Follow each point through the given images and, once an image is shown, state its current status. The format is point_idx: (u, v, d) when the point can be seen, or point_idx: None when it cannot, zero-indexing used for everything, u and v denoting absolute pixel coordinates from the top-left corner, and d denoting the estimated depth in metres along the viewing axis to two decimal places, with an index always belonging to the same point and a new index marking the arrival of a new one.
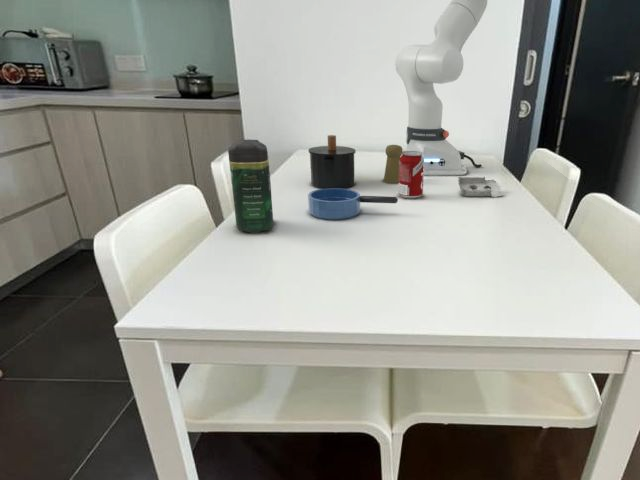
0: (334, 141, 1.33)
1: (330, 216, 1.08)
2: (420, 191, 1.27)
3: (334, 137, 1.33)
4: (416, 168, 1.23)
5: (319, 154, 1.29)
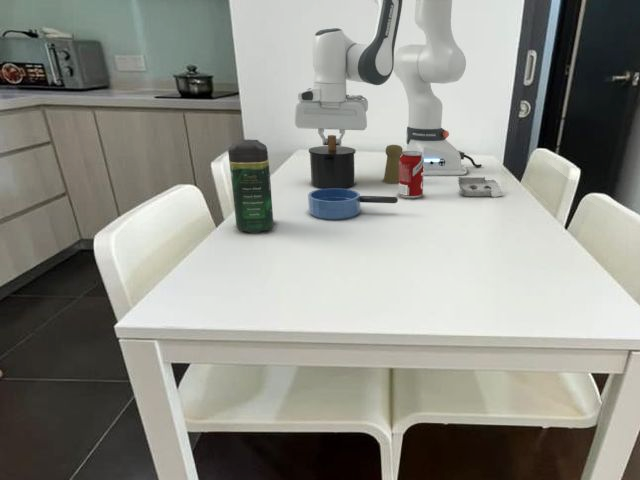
0: (334, 141, 1.33)
1: (330, 216, 1.08)
2: (420, 191, 1.27)
3: (334, 137, 1.33)
4: (416, 168, 1.23)
5: (319, 154, 1.29)
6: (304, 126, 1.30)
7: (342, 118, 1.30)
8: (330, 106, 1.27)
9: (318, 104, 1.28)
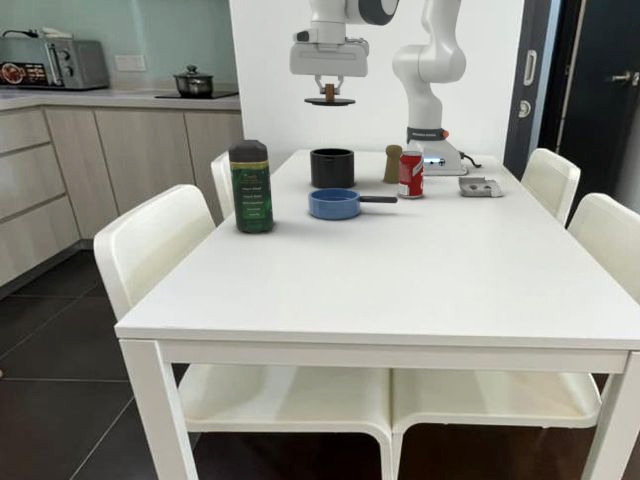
0: (332, 90, 1.22)
1: (330, 216, 1.08)
2: (420, 191, 1.27)
3: (332, 85, 1.22)
4: (416, 168, 1.23)
5: (315, 102, 1.18)
6: (299, 72, 1.19)
7: (341, 63, 1.19)
8: (328, 48, 1.16)
9: (315, 46, 1.17)
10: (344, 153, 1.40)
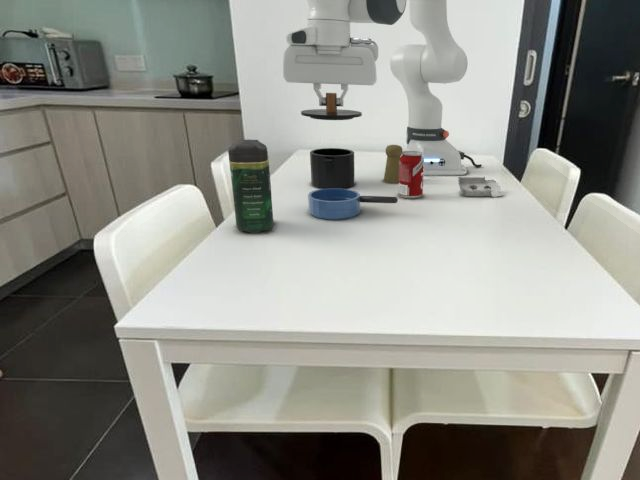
0: (334, 100, 1.03)
1: (330, 216, 1.08)
2: (420, 191, 1.27)
3: (334, 95, 1.02)
4: (416, 168, 1.23)
5: (315, 115, 0.99)
6: (295, 79, 1.00)
7: (345, 69, 0.99)
8: (329, 52, 0.97)
9: (313, 49, 0.97)
10: (344, 153, 1.40)
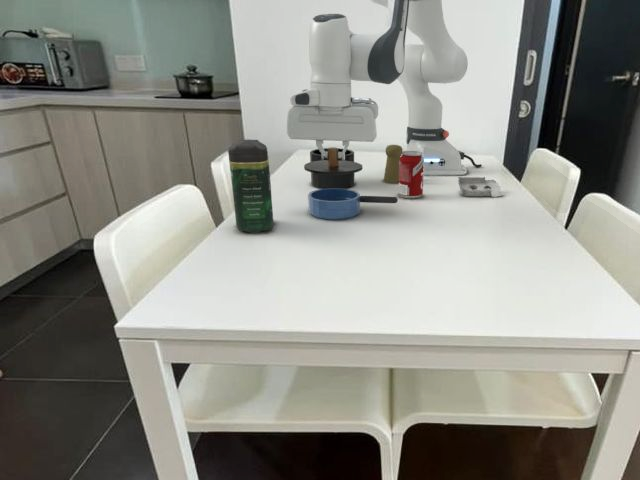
0: (336, 155, 1.07)
1: (330, 216, 1.08)
2: (420, 191, 1.27)
3: (336, 150, 1.07)
4: (416, 168, 1.23)
5: (317, 172, 1.03)
6: (298, 137, 1.05)
7: (346, 127, 1.04)
8: (331, 112, 1.01)
9: (316, 109, 1.02)
10: None
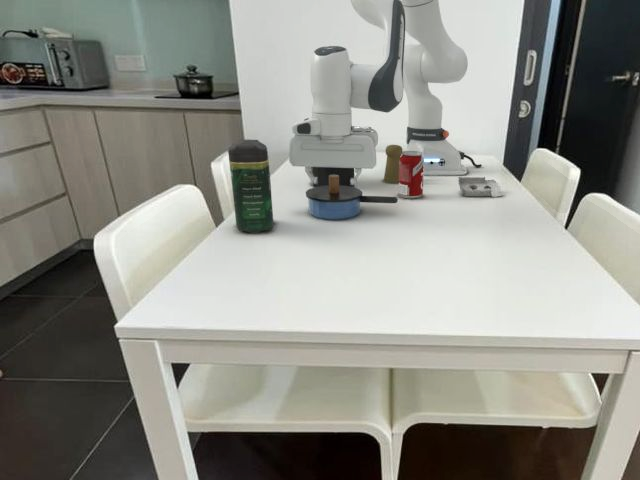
0: (337, 182, 1.10)
1: (330, 216, 1.08)
2: (420, 191, 1.27)
3: (337, 178, 1.09)
4: (416, 168, 1.23)
5: (318, 200, 1.06)
6: (300, 164, 1.07)
7: (347, 155, 1.06)
8: (332, 141, 1.04)
9: (317, 138, 1.04)
10: None
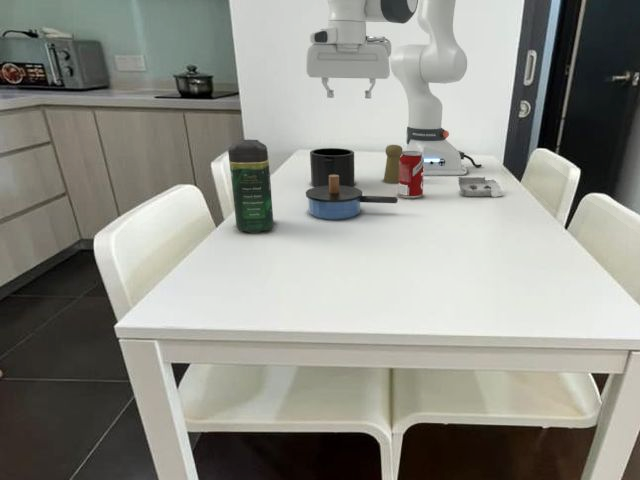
0: (337, 182, 1.10)
1: (330, 216, 1.08)
2: (420, 191, 1.27)
3: (337, 178, 1.09)
4: (416, 168, 1.23)
5: (318, 200, 1.06)
6: (317, 75, 1.12)
7: (362, 65, 1.11)
8: (348, 49, 1.08)
9: (333, 47, 1.09)
10: (344, 153, 1.40)
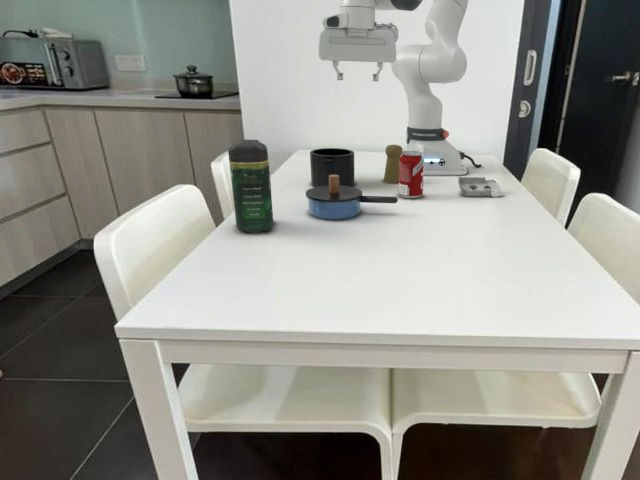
0: (337, 182, 1.10)
1: (330, 216, 1.08)
2: (420, 191, 1.27)
3: (337, 178, 1.09)
4: (416, 168, 1.23)
5: (318, 200, 1.06)
6: (328, 58, 1.19)
7: (370, 49, 1.18)
8: (358, 34, 1.16)
9: (344, 32, 1.16)
10: (344, 153, 1.40)
